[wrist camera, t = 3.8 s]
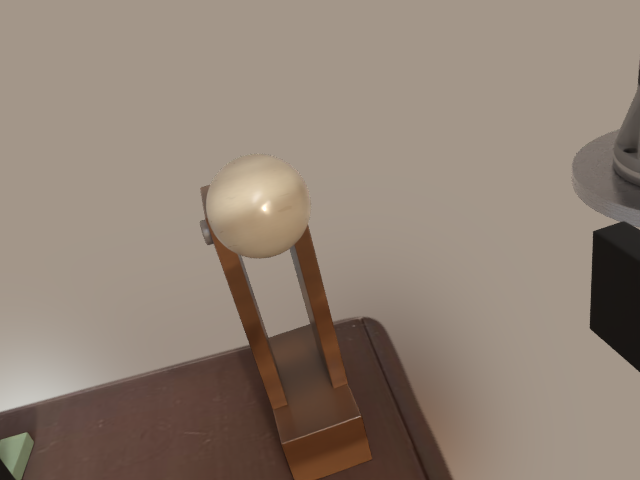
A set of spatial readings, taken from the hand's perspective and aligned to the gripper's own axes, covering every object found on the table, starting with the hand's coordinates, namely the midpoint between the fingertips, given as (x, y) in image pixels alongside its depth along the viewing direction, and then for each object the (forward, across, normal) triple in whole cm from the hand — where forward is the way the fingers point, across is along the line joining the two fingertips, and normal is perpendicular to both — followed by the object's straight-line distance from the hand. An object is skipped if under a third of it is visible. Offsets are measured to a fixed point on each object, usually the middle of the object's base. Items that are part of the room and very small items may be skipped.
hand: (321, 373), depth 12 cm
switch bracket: (+19, 0, -21) cm, 29 cm away
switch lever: (+13, 0, -4) cm, 14 cm away
